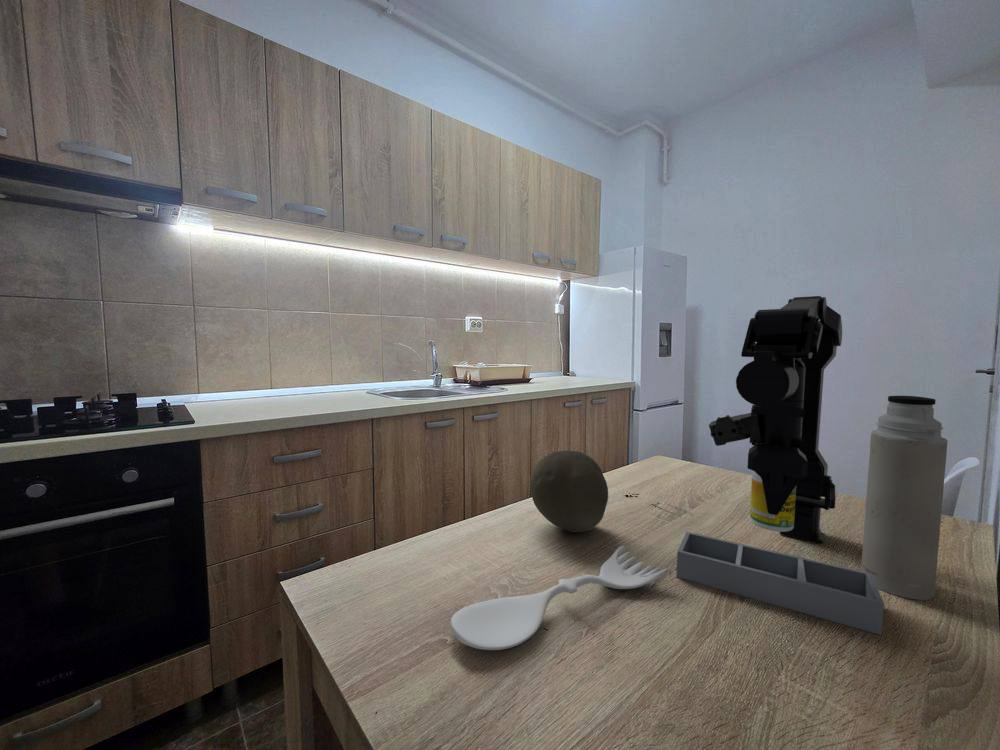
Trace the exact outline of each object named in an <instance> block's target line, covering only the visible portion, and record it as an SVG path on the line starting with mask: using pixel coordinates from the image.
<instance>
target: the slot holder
mask: <svg viewBox="0 0 1000 750" xmlns="http://www.w3.org/2000/svg"><path fill="white" fill-rule="evenodd" d="M676 551H677V554H676V555H677V557H676V578H679V579H681V580H682V579H683V580H685V581H689V582H693V583H697V584H701V585H702V586H703V585H704V586H707V587H710V588H714V589H718V590H722V591H725V592H727V593H732V594H734V595H738V596H741V597H746V598H750V599H753V600H756V601H758V602H759V601H760V602H763V603H768V604H770V605H773V606H778V607H781V608H785V609H788V610H791V611H794V612H795V611H796V612H799V613H803V614H805V615H810V616H813V617H816V618H820V619H823V620H827V621H829V622H830V621H831V622H833V623H838V624H841V625H844V626H848V627H852V628H854V629H859V630H862V631H865V632H869V633H873V634H876V635H880V636H883V635H882V634H883V623H884V622H883V621H884V612H885V611H884V610H885V608H884V607H885V603H884V600H883V598H882V595H881V592H879V588H877V587H876V584H875V582H874V580H873V578H872V575H871V573H867V572H863V571H861V570H858V569H853V568H850V567H849V568H848V567H845V566H840V565H837V564H832V563H827V562H823V561H818V560H815V559H814V560H813V559H809V558H805V557H800V556H796V555H792V554H788V553H783V552H778V551H773V550H771V549H766V548H761V547H757V546H753V545H748V544H743V543H740V542H735V541H731V540H725V539H721V538H717V537H712V536H709V535H708V536H707V535H703V534H700V533H694V532H690V531H686V532H685V534H684V536H683V538H682V540H681V543H680V545H679V548H678V549H677V550H676Z"/></svg>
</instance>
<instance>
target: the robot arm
mask: <svg viewBox="0 0 1000 750" xmlns="http://www.w3.org/2000/svg"><path fill="white" fill-rule="evenodd" d="M842 323H843V322H842V316H841V314H840V313H838V312H837V311H835V310H834V309H832V308H831V307H830V306H828V305H827V297H825V296H821V295H815V296H812V295H811V296H796V297H793V298H790V299H788V302H787V304H785V305H784V306H782V307H781V308H775V309H774V308H772V309H770V308H769V309H758V310H757V311H756V312H755V314H754V317H751V318H750V320H749V322H748V325H747V330H746V334H745V339H744V343H743V344H742V345H743V346H742V350H741V357H742V358H753V360H752V361H750V362H747V364H745V365H743V367H742V368H741V369H740V370H739V371H738V374H737V376H736V378H735V386H736V389H737V392H738V394H739V395H740V397H741V398H742V399H744V400H745V401H746V402H747V403H750V404H751V410H750V412H748V413H744V414H737V415H732V416H731V415H729V414H727V415H725V416H723V417H720V416H718V417H717V418H716V420H715V419H714V420H713V421H711V422H710V423H709V424H708V427H709V431H710V437H712V439H713V442H714V445H715V446H717V447H718V446H725V445H727V443H733V442H738V441H743V440H747V439H749V444H751V446H752V447H750V448H749V449H748V453H747V470H748V469H749V470H751V471H753V472H754V471H755V472H756V473H757V474H758V475H759V476H760V477H761V479H762V483H763V488H764V494H765V499H766V505H767V510H768V513H769V514H773V515H778V513H779V512H780V510H781V508H782V507H783V505H784V504H785V502H786V500H787V499H788V497H789V496H790V494H791V493H792V491H793V489H794V488H795V486H796V500H795V517H794V528H793V529H792V530H791V531H786V532H779V534H780V535H781V536H786V537H790V538H796V539H800V540H805V541H809V542H815V543H818V544H819V543H820V544H823V543H824V537H823V533H822V531H821V528H820V527H821V511H822V510H821V509H823V510H826V511H829V510H830V509H833V510H834V509H835V508H836V499H837V498H836V494H837V493H836V485H835V484H834V483H833V480H832V476H831V475H828V473H829V472H828V470H829V469H828V468H829V467H828V466H829V465H828V463H827V461H826V459H825V458H824V457H823V455H822V453H821V451H820V450H819V442H820V431H821V415H822V402H823V401H822V400H823V388H824V378H825V377H824V376H825V375H824V373H825V369H826V368H827V367H828V366H829V364H831V362H832V361H833V360H834V358H835V357H836V356H837V347H841V345H842V342H843V324H842Z"/></svg>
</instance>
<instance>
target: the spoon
mask: <svg viewBox="0 0 1000 750" xmlns="http://www.w3.org/2000/svg"><path fill="white" fill-rule="evenodd" d="M626 548H627V547H626V546H625V545H620V547H618V548H617V549H616V550H615V551H614V552H613V553H612V554H611V556H610V557H609V558H607V560H606V561H605V562H604V563H603V564H602V565H601V567H600V571H599V575H594V574H583V575H579V576H576V577H573V578H560V579H558V580H557V585H556V584H555V586H552V587H550V588H548V589H546V590H544V591H541V592H538V593H534V594H526V595H525V594H524V595H516V596H507V597H500V598H493V599H490V600H485V601H480V602H476V603H473V604H468V605H467V606H464V607H462V608H460V609H459V610H457V611H456V612H454V614H453V615H452V616H451V618H450V627H451V631H452V634H453V635H454V637H455V638H456V639H457V640H458V641H459V642H461V643H462V644H463V645H465V646H469V647H471V648H473V649H477V650H483V651H502V650H506V649H511V648H514V647H516V646H519V645H520V644H523V643H524V642H525V641H527V640H529V639H530V638H531V637H532V636H533V635H534V634H535V633H536V632H537V631H538V630H539V628H540V626H541V625H542V622H543V619H544V618H545V617H544V616H545V614H546V611H547V608H548V605H549V603H550V601H552V599H553V598H555V597H556V596H557V595H560V594H562V593H568V594H574V593H577V591H578V588H580V587H582V586H585V585H589V584H592V585H593V584H596V585H600V586H604V587H606V588H611V589H618V590H630V589H637V588H640V587H643V586H645V585H648V584H650V583H653V582H657V581H659V580H661V579H664V578H665V577H666V576H667V575H668V574H669V572H670V571H669V569H668V568H665V569H662V570H660V567H656V568H654V569H653V565H650V566H647V567H645V568H643V566H644V562H643V561H640V562H638V563H636V564H634V565H632V564H633V562H634V561H635V560H636V558H637V557H636V556H632V557H630V558H629V559H628V557H629V556H630V555H631V553H632V552H631V551H627V552H625V550H626ZM624 552H625V553H624ZM631 565H632V566H631ZM630 566H631V567H630ZM642 568H643V569H642ZM641 569H642V570H641Z"/></svg>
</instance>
